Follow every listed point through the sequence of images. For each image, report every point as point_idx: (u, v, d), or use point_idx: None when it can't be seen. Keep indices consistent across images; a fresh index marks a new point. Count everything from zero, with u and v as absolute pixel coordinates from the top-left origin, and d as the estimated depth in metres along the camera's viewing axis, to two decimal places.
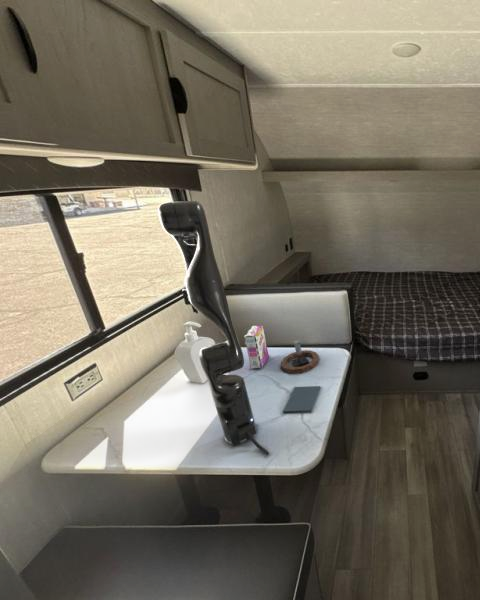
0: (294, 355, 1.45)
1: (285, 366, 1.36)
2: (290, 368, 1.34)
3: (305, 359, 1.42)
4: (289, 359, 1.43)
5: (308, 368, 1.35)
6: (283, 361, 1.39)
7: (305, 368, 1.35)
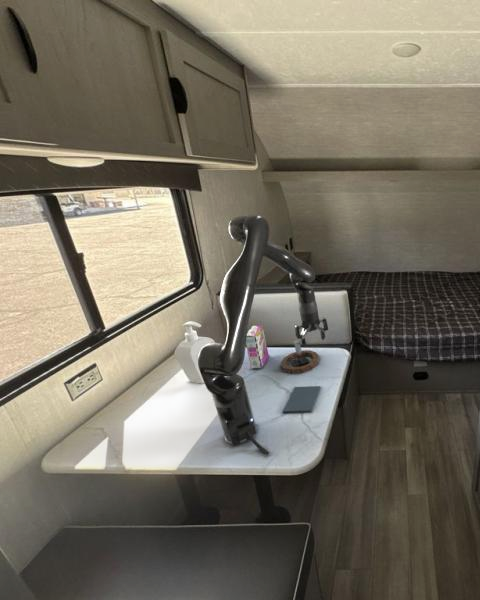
0: (294, 355, 1.45)
1: (285, 366, 1.36)
2: (290, 368, 1.34)
3: (305, 359, 1.42)
4: (289, 359, 1.43)
5: (308, 368, 1.35)
6: (283, 361, 1.39)
7: (305, 368, 1.35)
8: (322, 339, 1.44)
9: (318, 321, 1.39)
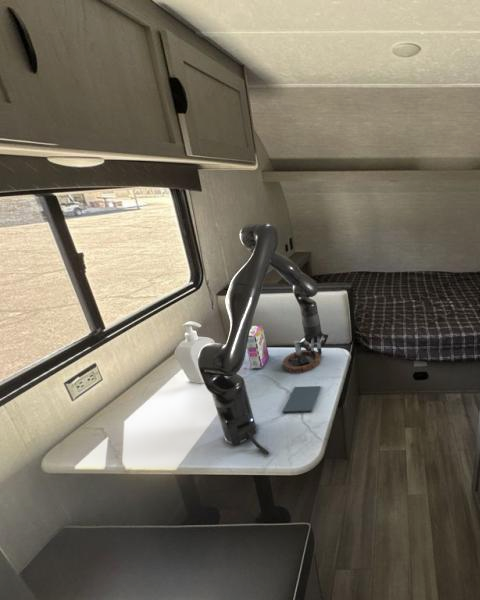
0: None
1: (287, 365, 1.36)
2: (292, 367, 1.34)
3: (305, 359, 1.42)
4: (291, 358, 1.43)
5: (310, 367, 1.36)
6: (285, 360, 1.40)
7: (307, 367, 1.35)
8: None
9: (321, 334, 1.42)
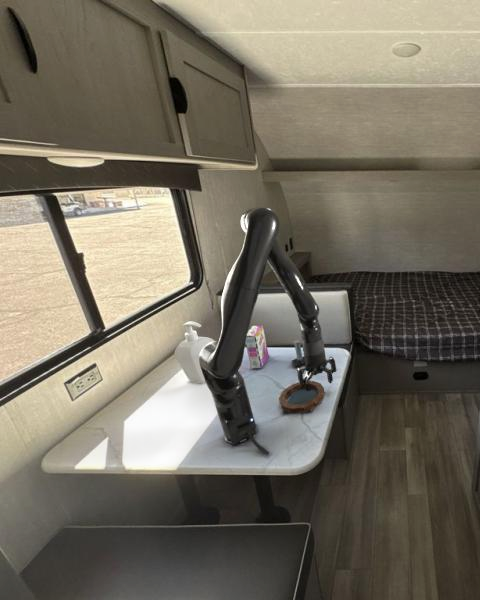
0: (295, 387, 1.21)
1: (284, 403, 1.11)
2: (290, 406, 1.10)
3: None
4: (289, 393, 1.19)
5: (312, 406, 1.11)
6: (281, 396, 1.15)
7: (308, 406, 1.10)
8: (329, 382, 1.21)
9: (325, 362, 1.17)
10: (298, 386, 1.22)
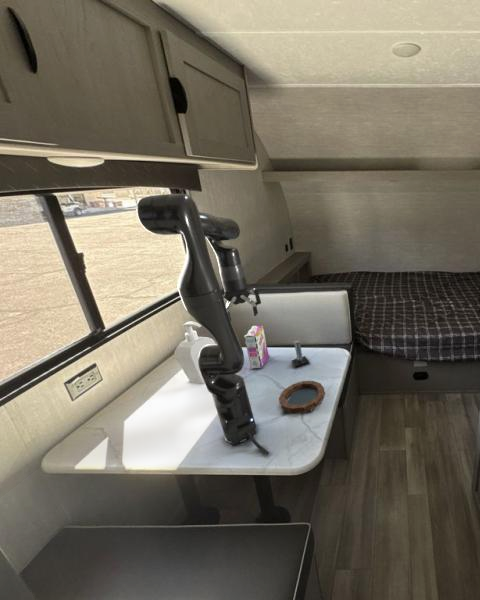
0: (295, 387, 1.21)
1: (284, 403, 1.11)
2: (290, 406, 1.10)
3: (305, 359, 1.42)
4: (289, 393, 1.19)
5: (312, 406, 1.11)
6: (281, 396, 1.15)
7: (308, 406, 1.10)
8: (254, 315, 1.18)
9: (247, 292, 1.13)
10: (298, 386, 1.22)
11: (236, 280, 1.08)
